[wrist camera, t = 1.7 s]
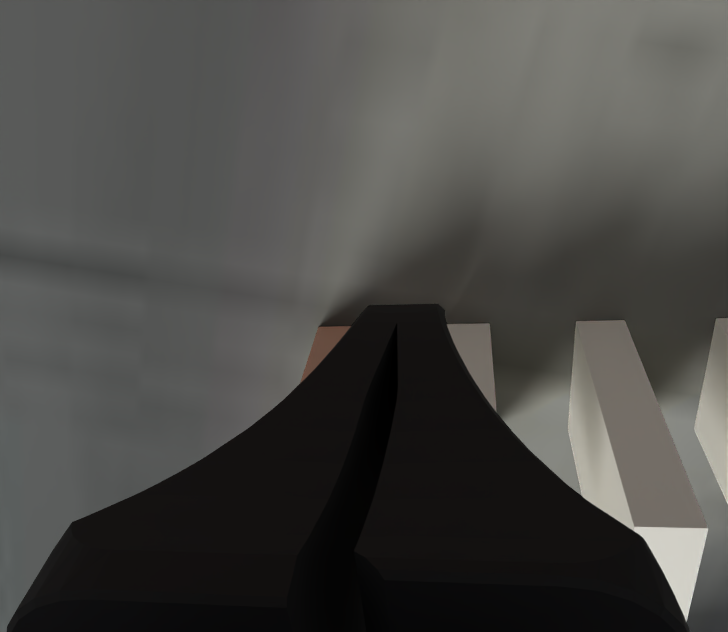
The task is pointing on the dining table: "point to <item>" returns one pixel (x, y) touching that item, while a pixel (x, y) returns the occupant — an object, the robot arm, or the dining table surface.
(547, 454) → the dining table surface
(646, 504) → the domino
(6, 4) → the dining table surface
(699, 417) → the domino
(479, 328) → the domino
